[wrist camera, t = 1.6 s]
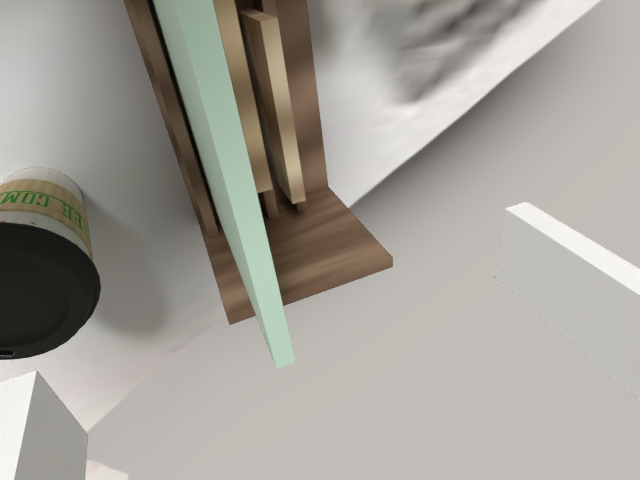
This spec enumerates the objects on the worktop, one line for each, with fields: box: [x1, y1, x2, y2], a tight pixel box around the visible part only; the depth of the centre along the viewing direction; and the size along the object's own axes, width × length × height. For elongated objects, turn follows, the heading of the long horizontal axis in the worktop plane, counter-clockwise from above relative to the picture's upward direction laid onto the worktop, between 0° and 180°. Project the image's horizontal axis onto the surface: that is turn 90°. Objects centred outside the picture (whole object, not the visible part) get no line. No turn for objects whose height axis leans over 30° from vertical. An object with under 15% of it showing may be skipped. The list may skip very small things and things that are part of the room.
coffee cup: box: [0, 167, 101, 360], centre depth 32 cm, size 10×10×15 cm
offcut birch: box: [237, 7, 306, 204], centre depth 35 cm, size 14×1×8 cm, turn 7°
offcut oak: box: [213, 0, 273, 193], centre depth 31 cm, size 18×1×10 cm, turn 7°
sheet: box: [152, 0, 296, 369], centre depth 27 cm, size 24×1×22 cm, turn 7°
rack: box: [124, 0, 393, 325], centre depth 31 cm, size 30×14×16 cm, turn 7°
